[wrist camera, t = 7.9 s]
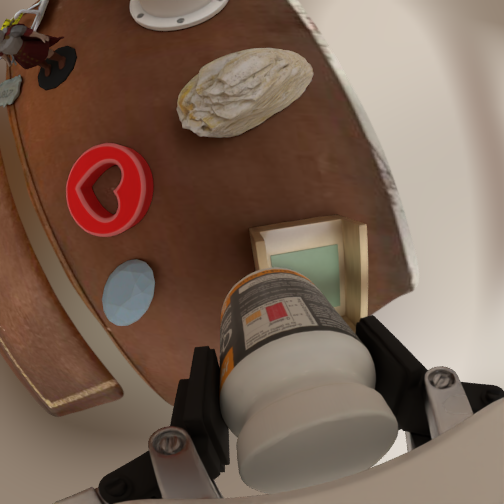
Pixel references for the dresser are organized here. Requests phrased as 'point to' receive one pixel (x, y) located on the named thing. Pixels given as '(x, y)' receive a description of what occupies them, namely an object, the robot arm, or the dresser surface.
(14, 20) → the toy motorcycle
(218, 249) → the dresser surface
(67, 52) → the figurine
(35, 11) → the wall mount rack
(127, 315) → the gemstone
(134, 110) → the dresser surface
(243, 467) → the pill bottle
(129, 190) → the decorative ornament
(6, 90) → the stone tool
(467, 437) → the robot arm
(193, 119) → the fossil tooth
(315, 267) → the shelf
